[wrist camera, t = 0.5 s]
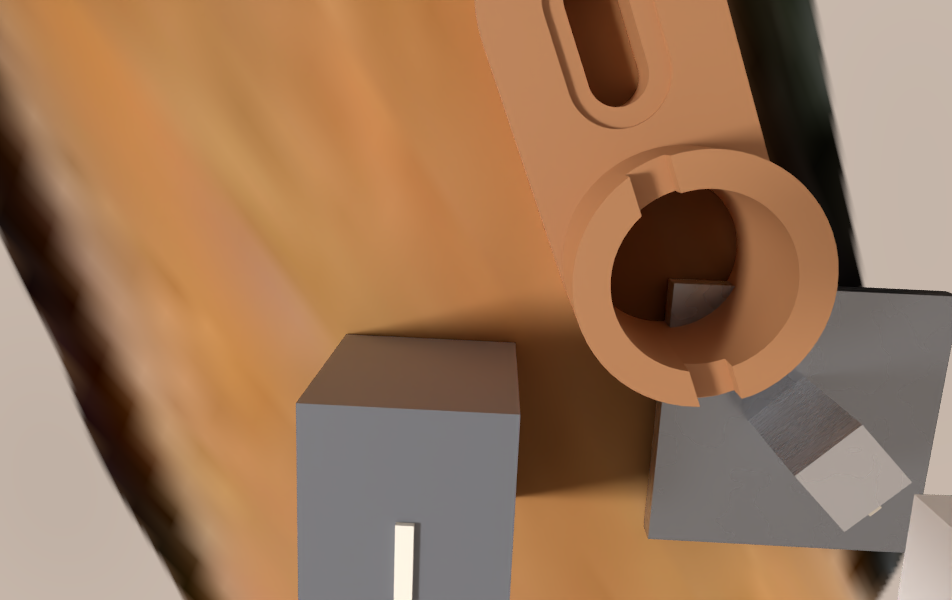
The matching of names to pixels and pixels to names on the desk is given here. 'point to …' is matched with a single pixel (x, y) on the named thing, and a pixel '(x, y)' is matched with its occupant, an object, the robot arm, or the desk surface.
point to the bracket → (663, 191)
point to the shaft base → (853, 375)
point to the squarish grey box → (408, 471)
